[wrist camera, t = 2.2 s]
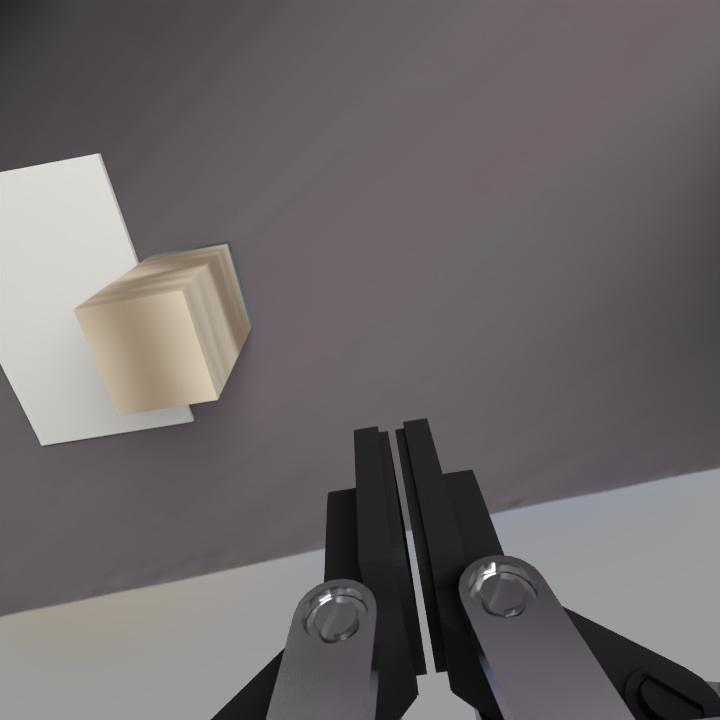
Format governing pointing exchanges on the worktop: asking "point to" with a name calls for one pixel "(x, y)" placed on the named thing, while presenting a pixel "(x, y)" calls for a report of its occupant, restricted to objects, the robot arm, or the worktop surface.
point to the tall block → (168, 329)
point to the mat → (62, 297)
